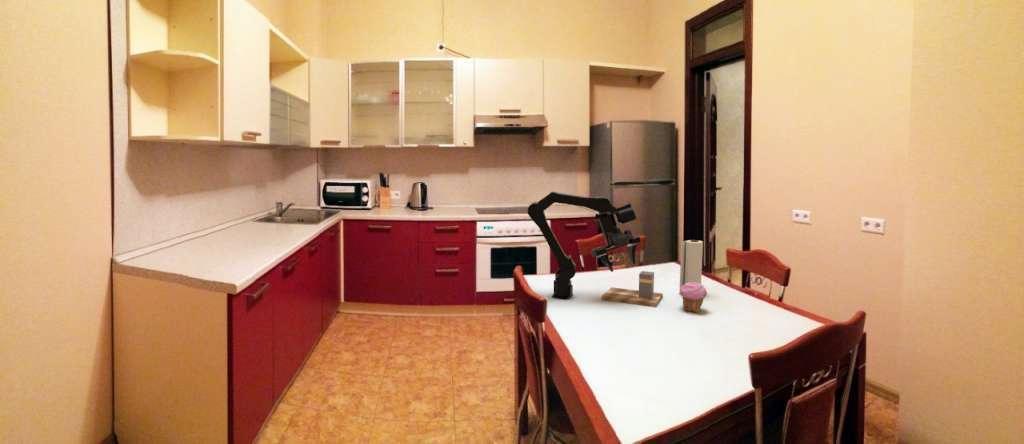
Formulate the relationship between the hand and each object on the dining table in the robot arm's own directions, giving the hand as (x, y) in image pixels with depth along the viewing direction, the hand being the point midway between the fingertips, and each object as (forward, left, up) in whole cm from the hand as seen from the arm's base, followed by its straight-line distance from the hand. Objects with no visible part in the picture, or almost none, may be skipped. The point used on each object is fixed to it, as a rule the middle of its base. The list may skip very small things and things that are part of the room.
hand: (623, 268), depth 171 cm
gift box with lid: (+8, +3, -11) cm, 14 cm away
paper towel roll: (+22, +18, -13) cm, 31 cm away
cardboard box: (+3, +3, -12) cm, 13 cm away
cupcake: (+25, -1, -13) cm, 28 cm away
